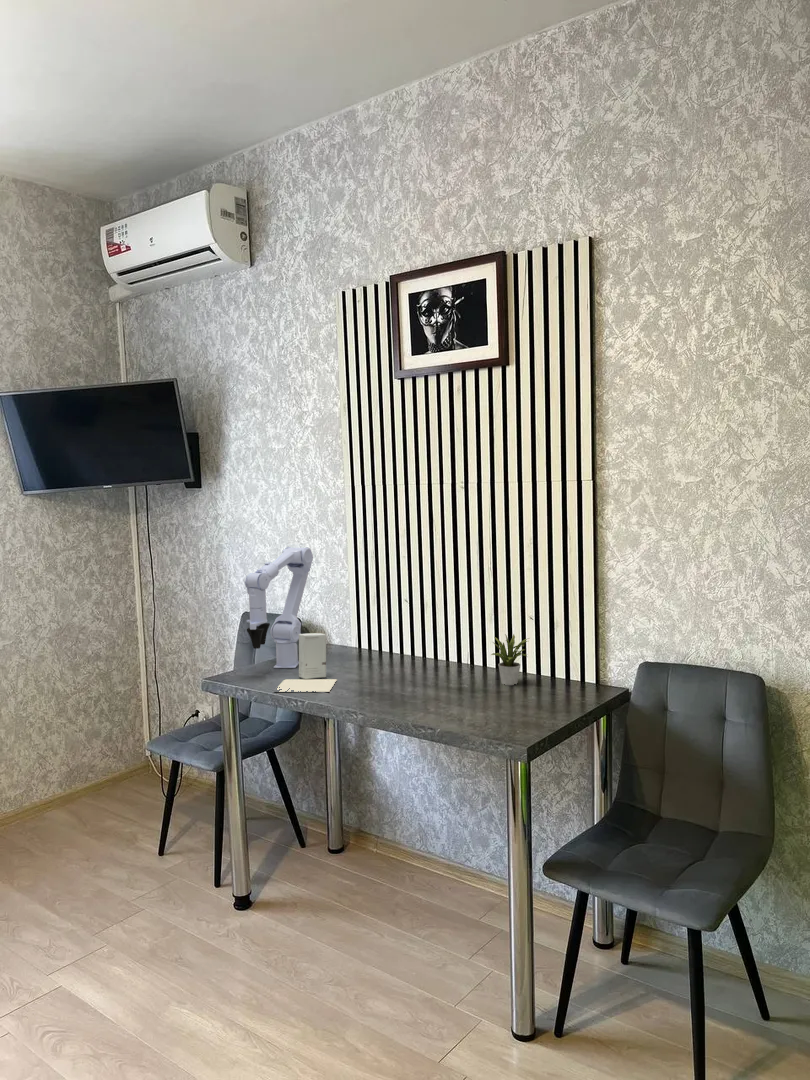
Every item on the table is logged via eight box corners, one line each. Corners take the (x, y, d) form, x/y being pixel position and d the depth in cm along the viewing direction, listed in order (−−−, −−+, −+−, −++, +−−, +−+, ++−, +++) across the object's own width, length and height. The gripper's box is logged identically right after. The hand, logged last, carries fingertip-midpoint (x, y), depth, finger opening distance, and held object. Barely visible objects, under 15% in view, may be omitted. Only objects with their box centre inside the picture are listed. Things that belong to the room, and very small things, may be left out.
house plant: (537, 689, 250) (536, 638, 249) (493, 690, 250) (492, 639, 249) (529, 678, 265) (529, 629, 263) (488, 679, 265) (487, 630, 263)
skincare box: (304, 679, 267) (303, 635, 267) (298, 676, 273) (297, 633, 272) (327, 677, 271) (326, 633, 271) (321, 674, 276) (320, 631, 276)
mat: (284, 680, 269) (284, 679, 269) (337, 680, 267) (337, 679, 267) (273, 693, 254) (273, 691, 254) (329, 693, 252) (329, 691, 252)
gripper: (252, 604, 282) (253, 642, 283) (240, 611, 267) (242, 650, 269) (271, 604, 281) (273, 641, 282) (261, 610, 267) (262, 650, 268)
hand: (259, 646), depth 275 cm, fingers open, 6 cm apart
